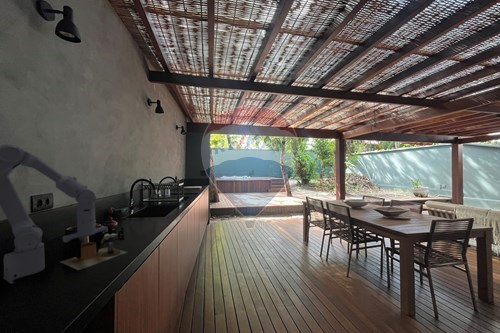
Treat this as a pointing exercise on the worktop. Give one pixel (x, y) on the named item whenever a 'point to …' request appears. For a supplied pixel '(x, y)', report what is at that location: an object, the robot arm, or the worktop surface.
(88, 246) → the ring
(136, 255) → the worktop surface
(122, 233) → the valve
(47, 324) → the worktop surface
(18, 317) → the worktop surface
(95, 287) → the worktop surface
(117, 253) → the post board
